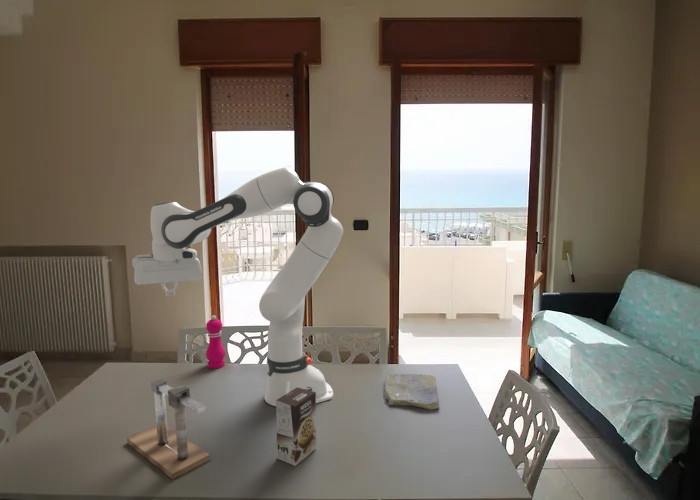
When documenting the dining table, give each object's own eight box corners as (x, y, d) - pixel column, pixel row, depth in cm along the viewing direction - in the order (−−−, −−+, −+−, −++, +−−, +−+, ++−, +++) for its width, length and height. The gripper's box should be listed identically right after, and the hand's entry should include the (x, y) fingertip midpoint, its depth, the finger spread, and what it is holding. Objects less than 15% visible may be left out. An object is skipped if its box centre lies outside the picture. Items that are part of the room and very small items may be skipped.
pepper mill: (220, 369, 171) (217, 318, 168) (202, 368, 172) (200, 317, 169) (229, 362, 178) (226, 313, 175) (212, 361, 179) (209, 312, 176)
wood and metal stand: (127, 442, 123) (121, 374, 120) (162, 427, 131) (157, 362, 128) (172, 479, 108) (167, 401, 105) (209, 460, 116) (205, 386, 113)
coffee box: (296, 467, 113) (294, 406, 110) (276, 458, 116) (274, 399, 114) (317, 448, 120) (316, 391, 118) (298, 441, 124) (297, 385, 121)
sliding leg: (155, 442, 120) (150, 382, 118) (165, 437, 122) (161, 378, 120) (199, 475, 107) (196, 408, 104) (210, 469, 109) (206, 404, 106)
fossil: (383, 413, 141) (440, 412, 139) (383, 399, 141) (439, 398, 139) (386, 386, 161) (435, 385, 159) (385, 373, 161) (434, 372, 159)
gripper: (130, 256, 137) (133, 300, 139) (201, 252, 144) (203, 295, 146) (132, 253, 143) (135, 296, 145) (200, 250, 150) (202, 290, 152)
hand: (170, 295), depth 146 cm, fingers closed
